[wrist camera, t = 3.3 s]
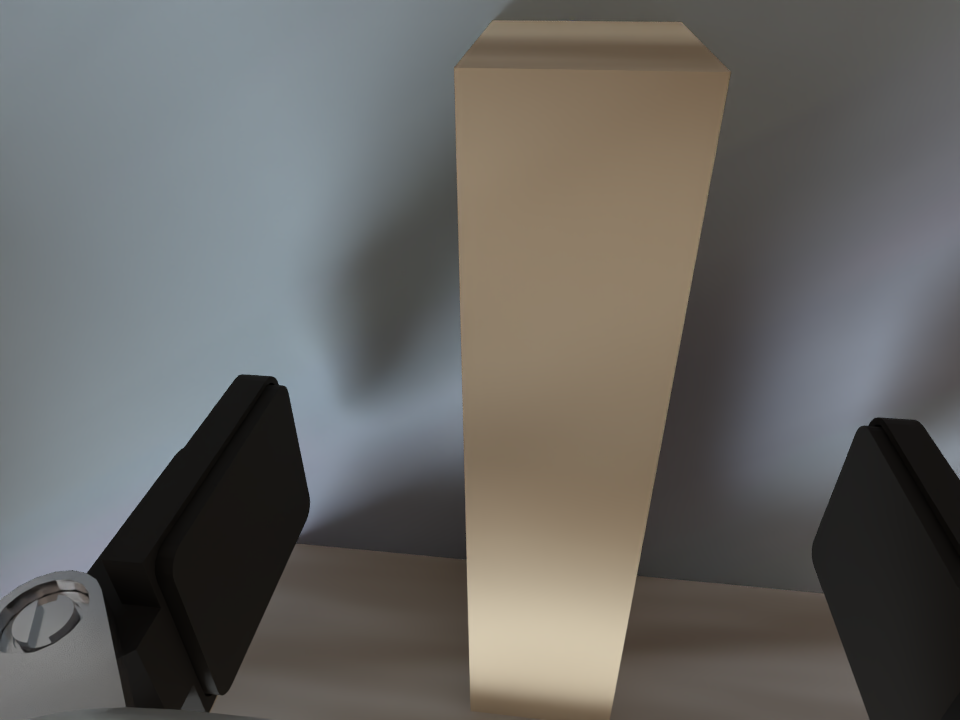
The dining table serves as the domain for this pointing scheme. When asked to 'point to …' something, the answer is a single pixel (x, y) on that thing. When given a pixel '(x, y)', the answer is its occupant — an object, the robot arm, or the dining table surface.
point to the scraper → (557, 432)
